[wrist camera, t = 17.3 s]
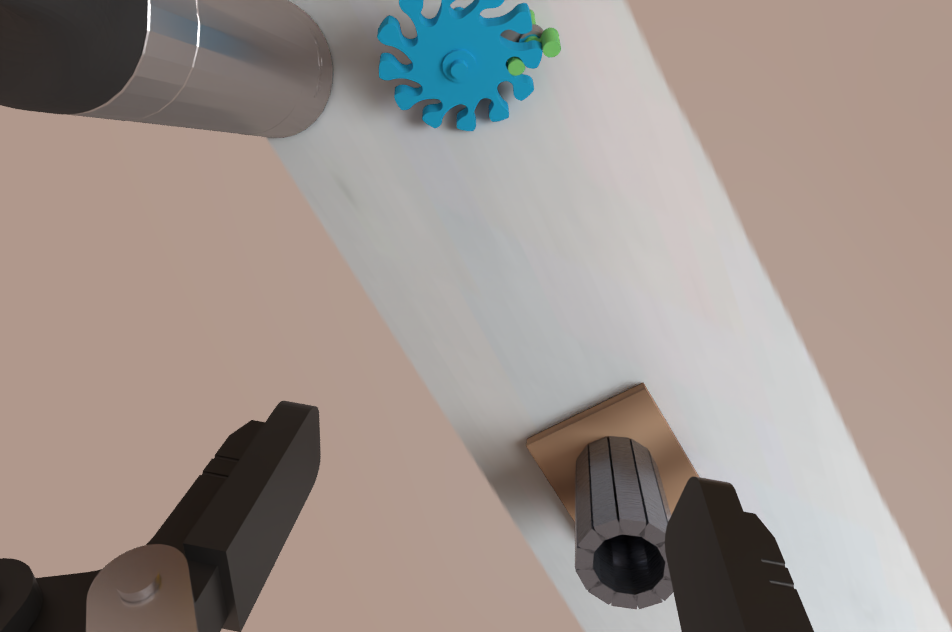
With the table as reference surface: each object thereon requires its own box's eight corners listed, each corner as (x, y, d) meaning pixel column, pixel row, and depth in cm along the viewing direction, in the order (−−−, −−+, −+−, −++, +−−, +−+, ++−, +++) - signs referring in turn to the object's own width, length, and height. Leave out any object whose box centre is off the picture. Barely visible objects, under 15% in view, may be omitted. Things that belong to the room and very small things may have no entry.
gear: (394, 142, 37) (354, -7, 28) (398, 87, 40) (364, -64, 31) (556, 130, 36) (567, -26, 27) (548, 75, 39) (556, -82, 30)
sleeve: (573, 502, 42) (572, 600, 32) (577, 432, 40) (578, 513, 31) (653, 511, 41) (676, 615, 31) (660, 440, 39) (688, 526, 30)
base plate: (527, 438, 42) (526, 446, 41) (643, 382, 40) (645, 388, 38) (590, 537, 44) (591, 547, 43) (707, 490, 41) (711, 499, 40)
